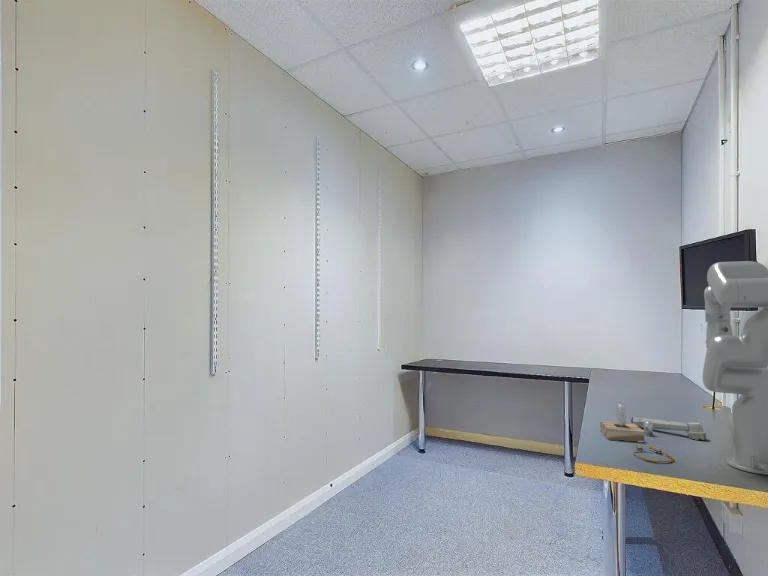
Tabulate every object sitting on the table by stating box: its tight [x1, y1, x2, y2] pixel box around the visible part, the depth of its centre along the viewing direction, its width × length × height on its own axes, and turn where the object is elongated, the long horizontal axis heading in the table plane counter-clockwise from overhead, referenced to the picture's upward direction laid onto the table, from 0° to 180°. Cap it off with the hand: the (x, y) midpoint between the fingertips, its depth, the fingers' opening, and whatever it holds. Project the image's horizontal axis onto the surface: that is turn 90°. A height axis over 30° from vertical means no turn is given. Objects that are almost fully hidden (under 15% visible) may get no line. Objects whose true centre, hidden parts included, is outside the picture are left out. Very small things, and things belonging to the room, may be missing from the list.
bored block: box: [599, 420, 645, 442], centre depth 161 cm, size 12×12×4 cm
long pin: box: [615, 403, 627, 428], centre depth 161 cm, size 3×3×12 cm
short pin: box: [643, 421, 654, 436], centre depth 164 cm, size 3×3×5 cm
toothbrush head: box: [630, 417, 708, 441], centre depth 167 cm, size 5×7×25 cm
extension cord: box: [632, 443, 675, 464], centre depth 139 cm, size 12×16×2 cm
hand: (719, 364), depth 159 cm, fingers open, 9 cm apart
